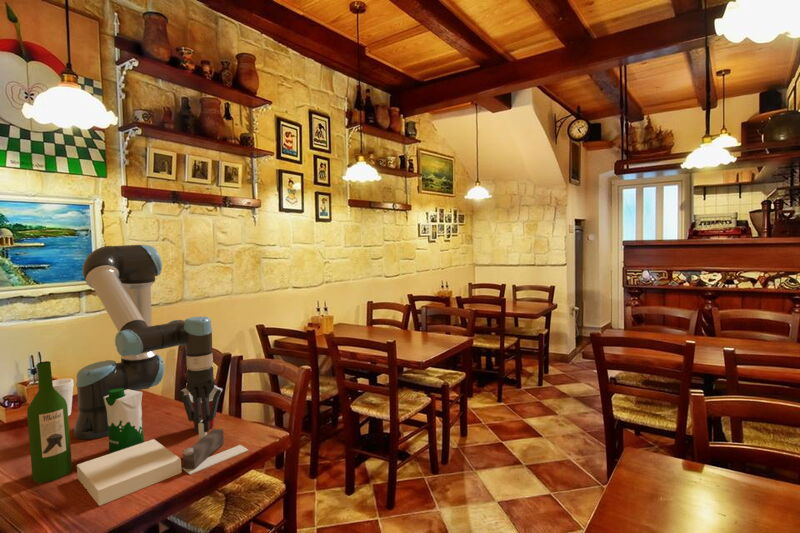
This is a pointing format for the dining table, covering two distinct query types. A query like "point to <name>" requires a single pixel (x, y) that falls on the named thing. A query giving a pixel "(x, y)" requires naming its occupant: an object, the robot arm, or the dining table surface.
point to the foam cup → (65, 391)
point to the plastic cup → (201, 408)
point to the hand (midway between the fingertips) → (203, 441)
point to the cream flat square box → (127, 471)
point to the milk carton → (124, 418)
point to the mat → (218, 458)
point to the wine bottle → (48, 430)
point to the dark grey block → (203, 449)
